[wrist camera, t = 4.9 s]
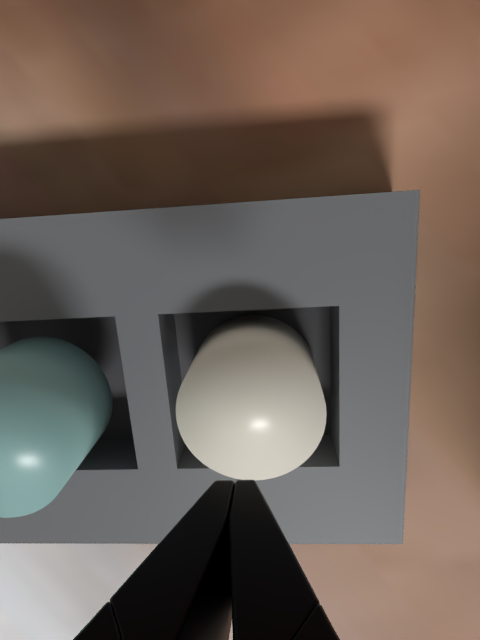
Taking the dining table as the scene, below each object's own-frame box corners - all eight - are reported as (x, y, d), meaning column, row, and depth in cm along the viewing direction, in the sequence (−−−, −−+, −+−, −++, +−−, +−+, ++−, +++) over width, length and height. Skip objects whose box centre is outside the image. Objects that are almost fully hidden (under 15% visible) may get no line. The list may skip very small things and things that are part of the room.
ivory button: (313, 311, 14) (325, 340, 11) (316, 425, 15) (327, 479, 12) (189, 317, 15) (167, 347, 12) (200, 427, 16) (183, 481, 13)
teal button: (101, 333, 13) (51, 371, 10) (121, 451, 15) (81, 517, 11) (-25, 338, 14) (-110, 377, 11) (3, 453, 15) (-66, 518, 12)
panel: (392, 192, 14) (419, 189, 11) (383, 494, 17) (402, 544, 15) (-243, 236, 16) (-339, 242, 13) (-146, 498, 19) (-208, 542, 17)
